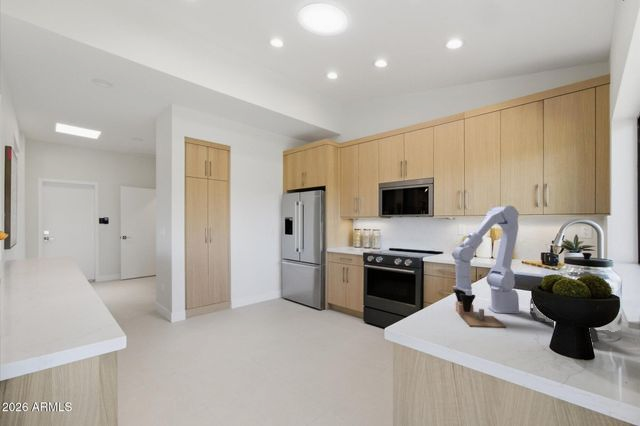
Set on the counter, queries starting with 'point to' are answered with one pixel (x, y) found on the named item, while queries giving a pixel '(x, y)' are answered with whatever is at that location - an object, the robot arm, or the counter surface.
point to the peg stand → (482, 320)
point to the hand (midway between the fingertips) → (464, 309)
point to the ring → (461, 311)
